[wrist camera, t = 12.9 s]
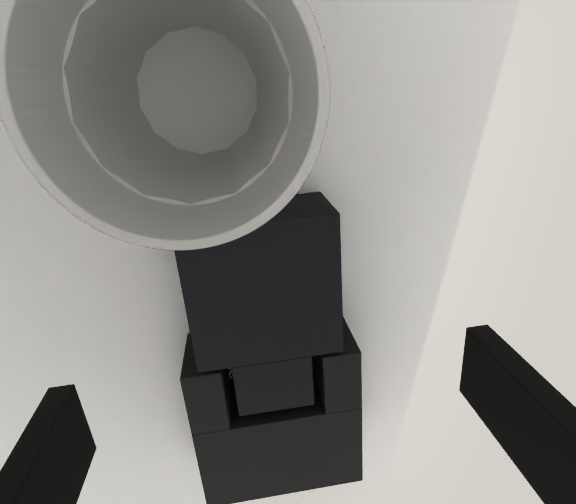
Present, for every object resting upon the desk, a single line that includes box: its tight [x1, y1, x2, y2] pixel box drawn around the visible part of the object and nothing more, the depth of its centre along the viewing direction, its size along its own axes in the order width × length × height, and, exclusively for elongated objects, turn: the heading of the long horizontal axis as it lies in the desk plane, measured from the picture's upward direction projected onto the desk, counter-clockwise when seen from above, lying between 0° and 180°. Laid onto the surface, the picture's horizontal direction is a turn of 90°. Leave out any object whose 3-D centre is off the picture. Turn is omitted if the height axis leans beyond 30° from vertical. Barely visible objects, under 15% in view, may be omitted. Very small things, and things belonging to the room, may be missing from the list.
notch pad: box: [180, 318, 362, 504], centre depth 26 cm, size 10×10×4 cm
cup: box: [0, 0, 330, 250], centre depth 16 cm, size 8×8×12 cm
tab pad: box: [174, 192, 344, 416], centre depth 24 cm, size 11×8×4 cm
